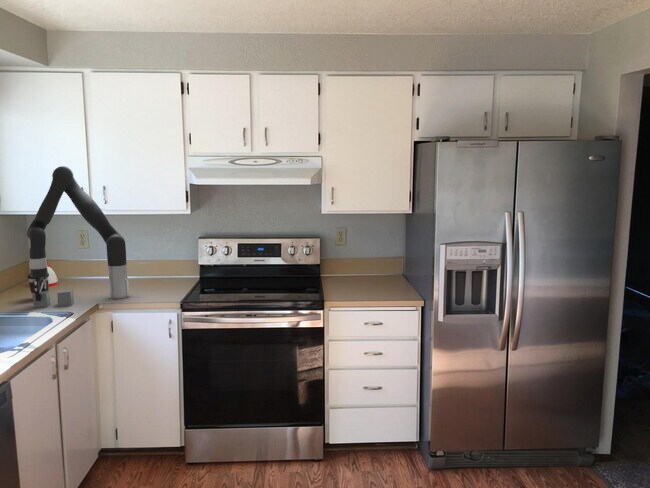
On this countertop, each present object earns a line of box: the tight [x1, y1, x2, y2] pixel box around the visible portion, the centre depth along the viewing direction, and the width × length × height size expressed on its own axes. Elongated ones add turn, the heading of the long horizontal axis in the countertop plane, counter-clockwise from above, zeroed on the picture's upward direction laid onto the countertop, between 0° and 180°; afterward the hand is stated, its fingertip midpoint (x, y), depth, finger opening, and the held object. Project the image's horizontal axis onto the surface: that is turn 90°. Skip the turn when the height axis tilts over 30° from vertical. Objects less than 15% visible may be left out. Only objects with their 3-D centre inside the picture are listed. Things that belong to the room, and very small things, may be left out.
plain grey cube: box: [32, 290, 51, 309], centre depth 264 cm, size 6×6×7 cm
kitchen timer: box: [47, 261, 59, 288], centre depth 311 cm, size 14×14×15 cm
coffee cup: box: [26, 273, 49, 300], centre depth 277 cm, size 10×10×15 cm
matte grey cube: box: [57, 289, 75, 307], centre depth 266 cm, size 6×6×7 cm
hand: (41, 298), depth 264 cm, fingers open, 8 cm apart
